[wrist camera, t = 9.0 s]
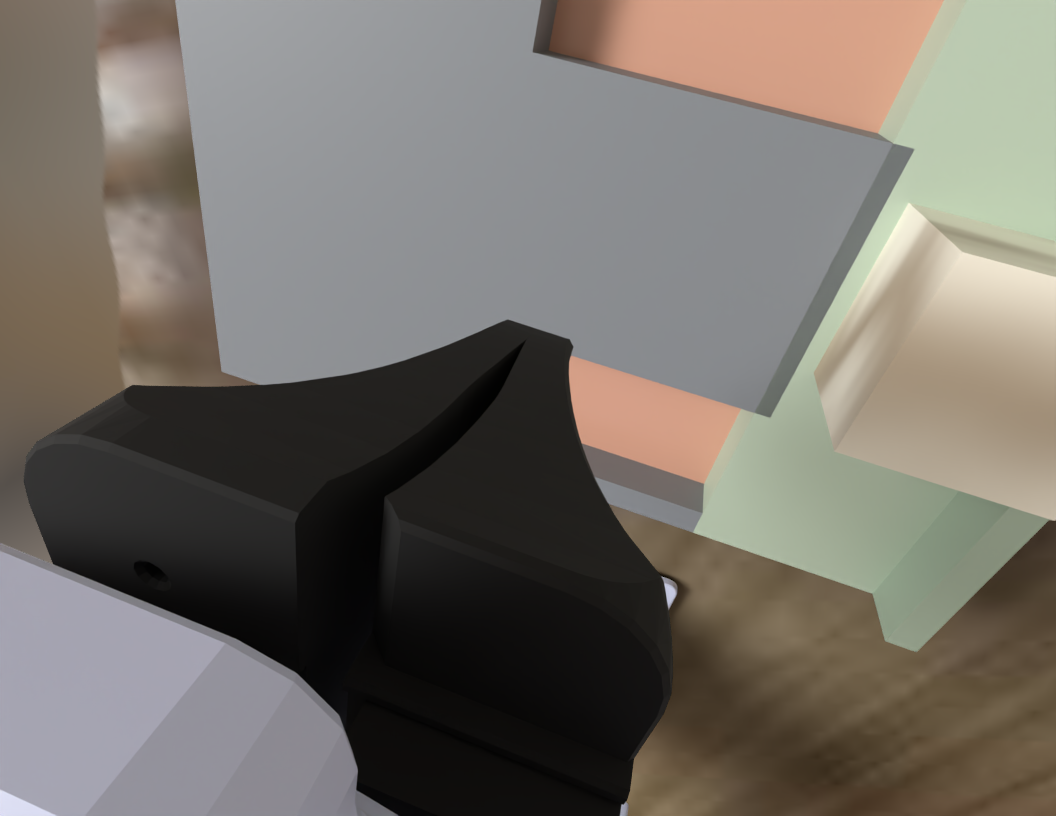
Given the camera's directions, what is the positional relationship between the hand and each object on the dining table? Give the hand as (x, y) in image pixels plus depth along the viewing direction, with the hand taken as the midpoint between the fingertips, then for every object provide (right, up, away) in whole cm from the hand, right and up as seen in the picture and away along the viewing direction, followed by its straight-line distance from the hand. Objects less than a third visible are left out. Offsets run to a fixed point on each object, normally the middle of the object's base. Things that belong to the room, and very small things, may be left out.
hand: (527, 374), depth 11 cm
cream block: (+11, +2, +4) cm, 12 cm away
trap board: (+3, +5, +7) cm, 9 cm away
